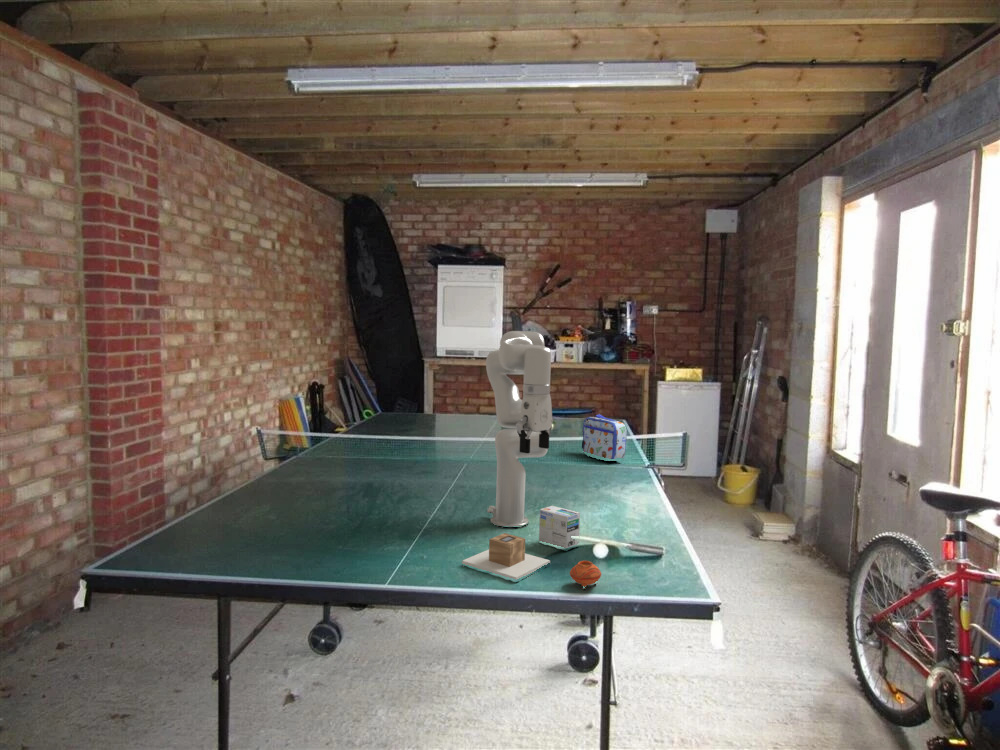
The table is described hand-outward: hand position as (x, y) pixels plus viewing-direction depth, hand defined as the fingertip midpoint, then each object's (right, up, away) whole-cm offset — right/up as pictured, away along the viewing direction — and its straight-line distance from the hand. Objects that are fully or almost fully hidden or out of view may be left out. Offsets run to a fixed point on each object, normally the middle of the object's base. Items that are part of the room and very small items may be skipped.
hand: (534, 450), depth 184 cm
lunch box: (+41, -21, +142) cm, 149 cm away
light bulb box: (+8, -30, +11) cm, 33 cm away
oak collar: (-8, -29, -7) cm, 31 cm away
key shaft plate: (-8, -31, -7) cm, 33 cm away
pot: (+12, -33, -19) cm, 40 cm away
